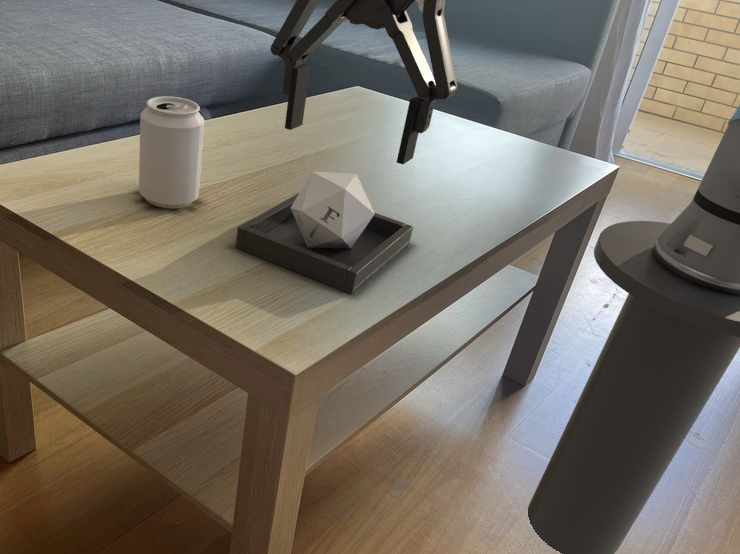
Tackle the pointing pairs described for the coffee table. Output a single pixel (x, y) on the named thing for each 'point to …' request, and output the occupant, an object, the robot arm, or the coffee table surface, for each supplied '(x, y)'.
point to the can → (170, 151)
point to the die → (332, 210)
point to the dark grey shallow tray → (328, 265)
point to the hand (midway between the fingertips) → (347, 143)
